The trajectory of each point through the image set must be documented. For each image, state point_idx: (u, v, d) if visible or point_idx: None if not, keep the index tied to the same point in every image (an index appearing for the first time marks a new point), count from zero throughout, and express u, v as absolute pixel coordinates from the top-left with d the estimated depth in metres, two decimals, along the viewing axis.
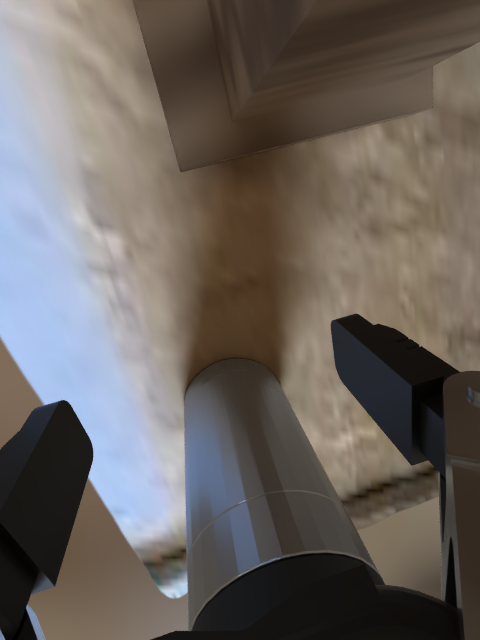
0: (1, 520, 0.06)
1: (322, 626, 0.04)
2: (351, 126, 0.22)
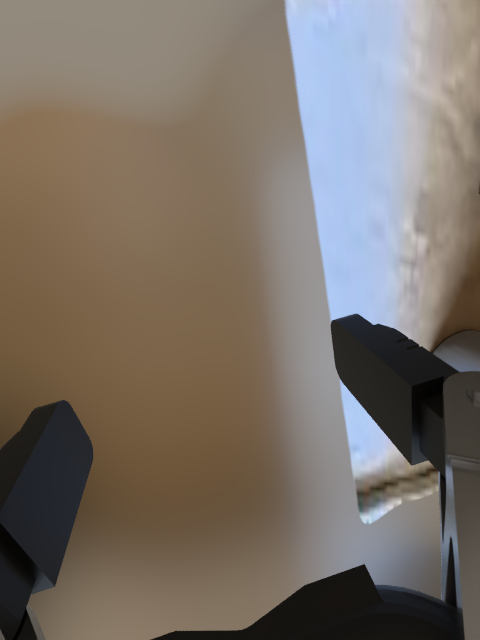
0: (1, 520, 0.06)
1: (322, 626, 0.03)
2: None
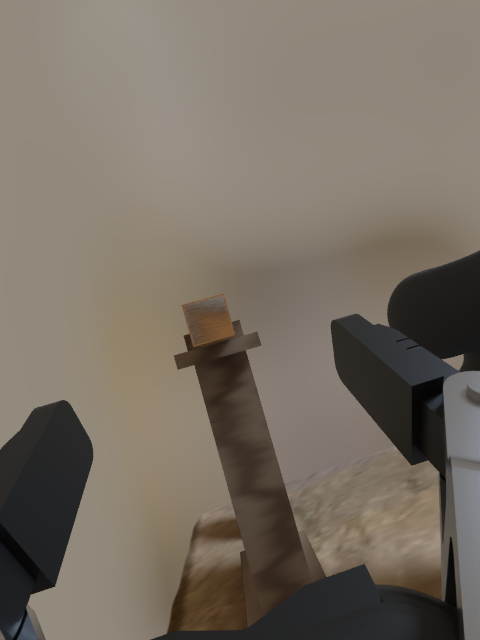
0: (1, 520, 0.06)
1: (322, 626, 0.03)
2: (315, 555, 0.43)
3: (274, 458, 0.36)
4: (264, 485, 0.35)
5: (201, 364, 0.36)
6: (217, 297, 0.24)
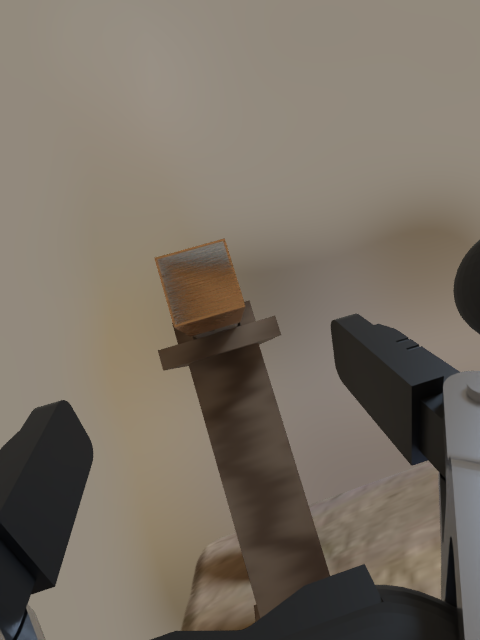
0: (1, 520, 0.06)
1: (321, 627, 0.03)
2: None
3: (301, 493, 0.26)
4: (287, 531, 0.25)
5: (198, 363, 0.27)
6: (214, 244, 0.14)
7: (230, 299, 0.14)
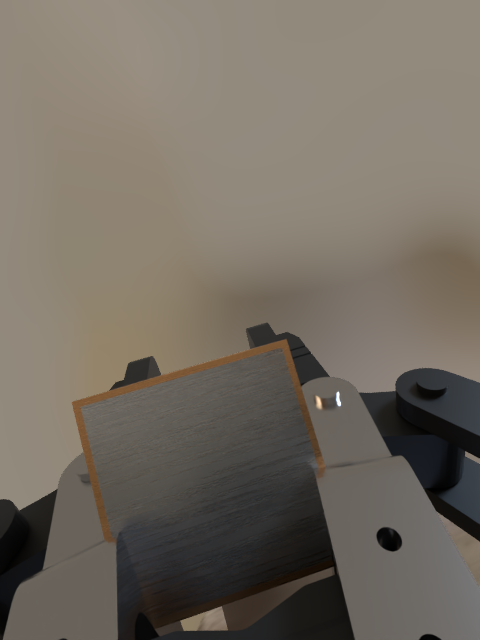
0: None
1: (322, 627, 0.03)
2: None
3: None
4: None
5: None
6: (256, 357, 0.05)
7: (307, 537, 0.04)
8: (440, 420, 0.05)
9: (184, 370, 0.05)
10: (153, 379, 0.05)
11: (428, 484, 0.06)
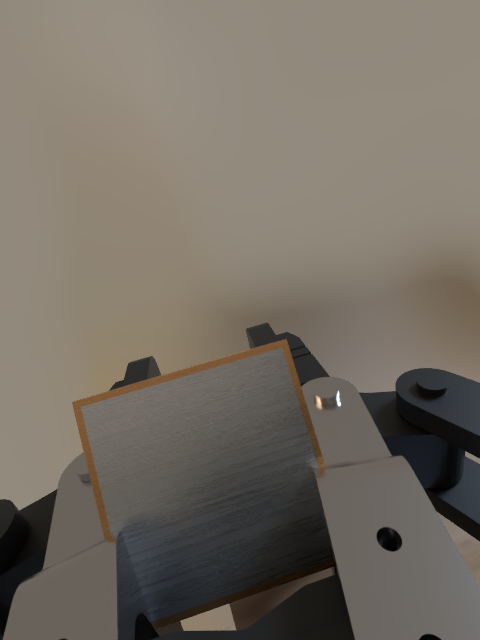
0: None
1: (321, 626, 0.03)
2: None
3: None
4: None
5: None
6: (256, 358, 0.05)
7: (307, 537, 0.04)
8: (440, 420, 0.05)
9: (184, 370, 0.05)
10: (153, 379, 0.05)
11: (428, 484, 0.06)
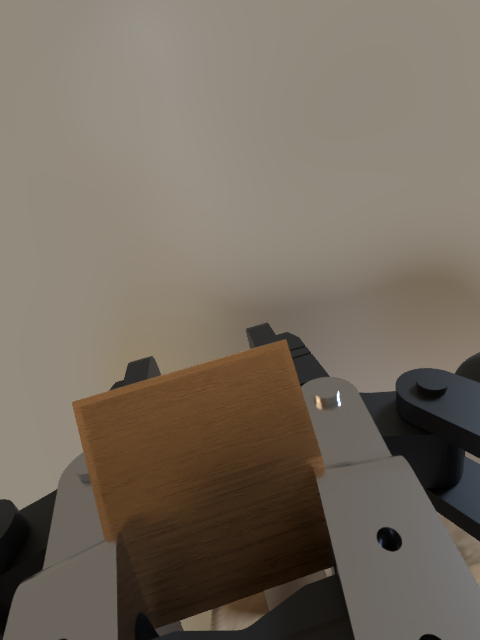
0: None
1: (322, 626, 0.03)
2: None
3: None
4: None
5: None
6: (256, 358, 0.05)
7: (307, 537, 0.05)
8: (440, 420, 0.05)
9: (184, 370, 0.05)
10: (153, 379, 0.05)
11: (428, 484, 0.06)
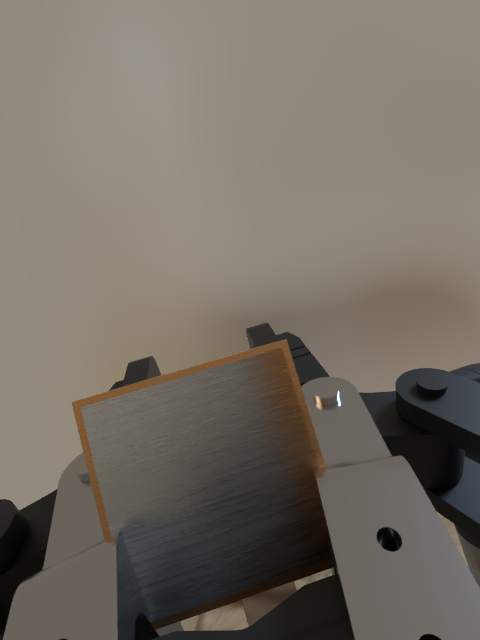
0: None
1: (321, 625, 0.04)
2: None
3: None
4: None
5: None
6: (256, 357, 0.05)
7: (307, 538, 0.04)
8: (440, 420, 0.05)
9: (184, 370, 0.05)
10: (153, 379, 0.05)
11: (428, 484, 0.06)
